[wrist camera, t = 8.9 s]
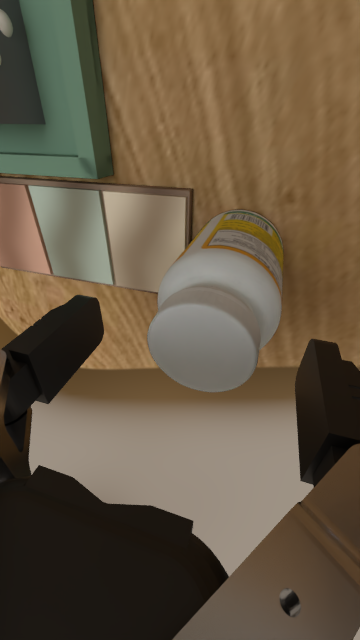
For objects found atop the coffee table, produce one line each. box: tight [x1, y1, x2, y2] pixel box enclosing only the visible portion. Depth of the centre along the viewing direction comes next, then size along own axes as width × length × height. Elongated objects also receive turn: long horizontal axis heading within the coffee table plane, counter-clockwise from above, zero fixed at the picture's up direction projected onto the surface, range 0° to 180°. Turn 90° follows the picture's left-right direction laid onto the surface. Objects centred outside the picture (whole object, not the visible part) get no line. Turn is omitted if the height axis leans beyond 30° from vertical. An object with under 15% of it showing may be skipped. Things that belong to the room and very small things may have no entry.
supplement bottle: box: [147, 210, 284, 392], centre depth 13 cm, size 5×5×10 cm
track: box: [0, 176, 193, 294], centre depth 19 cm, size 16×7×1 cm, turn 90°
